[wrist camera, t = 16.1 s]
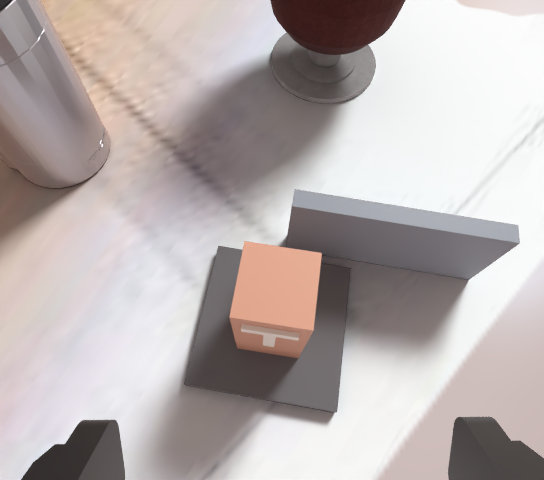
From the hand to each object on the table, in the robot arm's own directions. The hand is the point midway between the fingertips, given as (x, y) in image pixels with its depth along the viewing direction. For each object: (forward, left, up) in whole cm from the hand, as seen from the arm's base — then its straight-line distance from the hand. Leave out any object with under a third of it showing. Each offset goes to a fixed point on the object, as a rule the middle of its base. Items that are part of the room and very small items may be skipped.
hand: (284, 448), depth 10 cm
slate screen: (+8, +17, -24) cm, 30 cm away
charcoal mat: (-1, +9, -24) cm, 25 cm away
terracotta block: (-1, +8, -23) cm, 24 cm away
